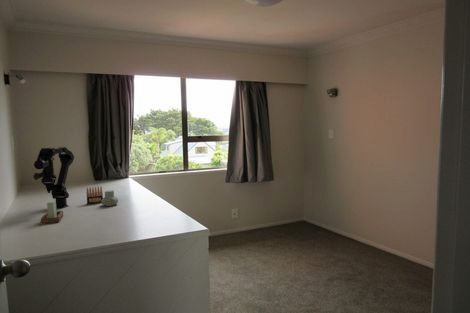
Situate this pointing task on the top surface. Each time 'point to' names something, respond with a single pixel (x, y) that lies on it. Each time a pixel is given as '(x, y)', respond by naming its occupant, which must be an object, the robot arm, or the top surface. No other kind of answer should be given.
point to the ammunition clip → (94, 195)
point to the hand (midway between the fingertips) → (50, 191)
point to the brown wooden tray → (52, 220)
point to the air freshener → (109, 198)
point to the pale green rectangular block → (51, 208)
